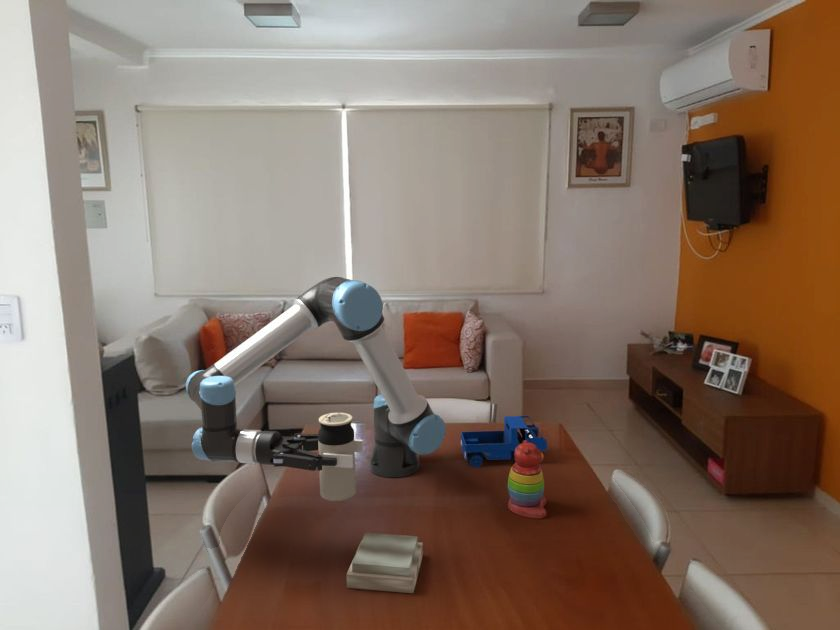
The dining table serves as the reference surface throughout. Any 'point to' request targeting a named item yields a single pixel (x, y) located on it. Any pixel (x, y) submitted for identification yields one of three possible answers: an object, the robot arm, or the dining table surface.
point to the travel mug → (336, 440)
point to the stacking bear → (527, 482)
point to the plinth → (385, 578)
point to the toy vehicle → (500, 441)
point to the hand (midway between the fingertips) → (357, 453)
